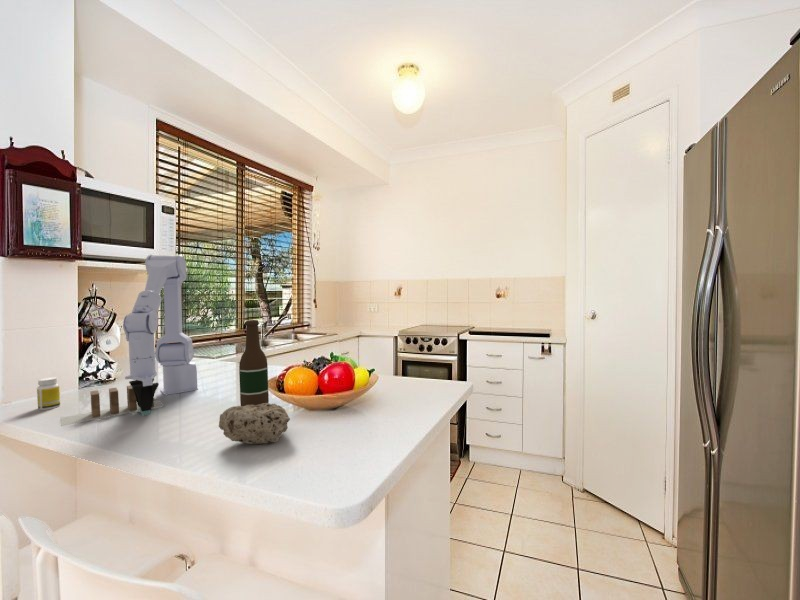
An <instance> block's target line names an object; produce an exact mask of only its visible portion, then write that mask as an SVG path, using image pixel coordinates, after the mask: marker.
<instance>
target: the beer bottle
mask: <svg viewBox="0 0 800 600" xmlns="http://www.w3.org/2000/svg"><path fill="white" fill-rule="evenodd" d="M259 325H260V322H259V320H258V319H249V320H246V321H245V325H244V326H245V327H246V328H245V329H246V330H245V331H246V332H245V334H246V335H245V349H244V351H243V353H242V354H241V358H240V359H239V365H238V368H239V369H238V371H239V373H238V374H239V398H240V399H239V401H240V406H246V405H258V404H263V403H269V402H270V401H269V399H270V398H269V373H268V372H269V371H268V368H269V367H268V358H267V357H266V353H265V352H264V351H263V349H262V348H261V347H262V346H261V342H260V334H259ZM269 404H270V403H269Z"/></svg>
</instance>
